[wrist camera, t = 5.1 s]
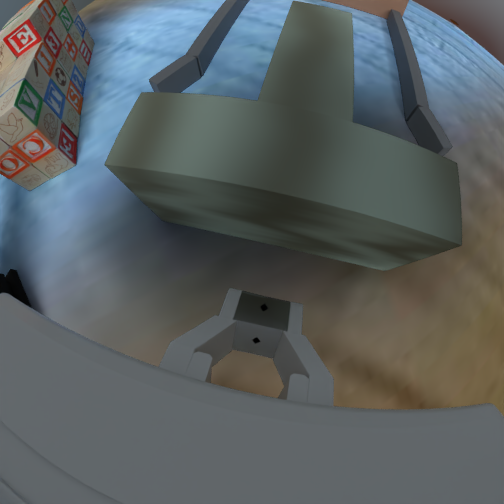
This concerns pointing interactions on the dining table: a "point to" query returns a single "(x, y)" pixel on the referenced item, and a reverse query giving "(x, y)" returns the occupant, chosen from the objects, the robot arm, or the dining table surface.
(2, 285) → the chess piece
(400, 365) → the dining table surface
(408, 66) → the bay
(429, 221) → the T block
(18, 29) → the stack of blocks
